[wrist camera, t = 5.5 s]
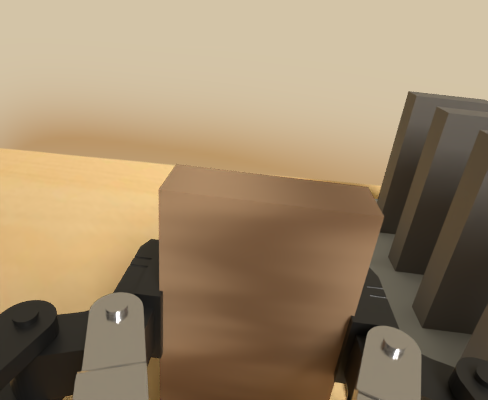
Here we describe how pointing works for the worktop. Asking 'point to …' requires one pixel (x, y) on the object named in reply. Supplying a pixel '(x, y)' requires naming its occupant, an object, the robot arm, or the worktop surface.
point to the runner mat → (401, 300)
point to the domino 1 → (258, 282)
